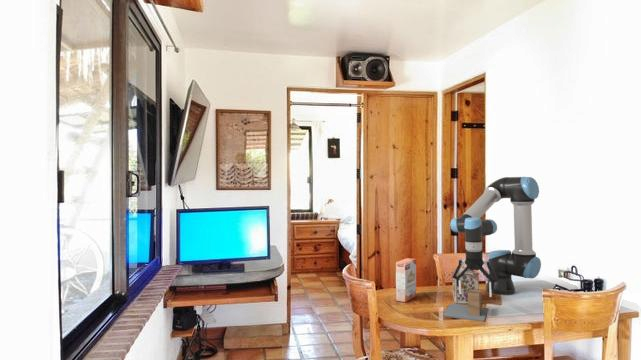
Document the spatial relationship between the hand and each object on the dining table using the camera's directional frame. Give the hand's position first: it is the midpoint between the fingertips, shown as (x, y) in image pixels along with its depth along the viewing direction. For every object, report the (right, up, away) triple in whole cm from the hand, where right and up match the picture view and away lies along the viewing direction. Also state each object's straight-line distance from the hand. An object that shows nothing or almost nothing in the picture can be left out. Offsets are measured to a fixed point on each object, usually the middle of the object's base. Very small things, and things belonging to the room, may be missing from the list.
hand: (475, 294), depth 192 cm
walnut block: (0, -8, 0) cm, 8 cm away
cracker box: (-27, -10, +25) cm, 39 cm away
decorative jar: (+2, -9, +20) cm, 22 cm away
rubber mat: (-4, -9, +2) cm, 10 cm away
